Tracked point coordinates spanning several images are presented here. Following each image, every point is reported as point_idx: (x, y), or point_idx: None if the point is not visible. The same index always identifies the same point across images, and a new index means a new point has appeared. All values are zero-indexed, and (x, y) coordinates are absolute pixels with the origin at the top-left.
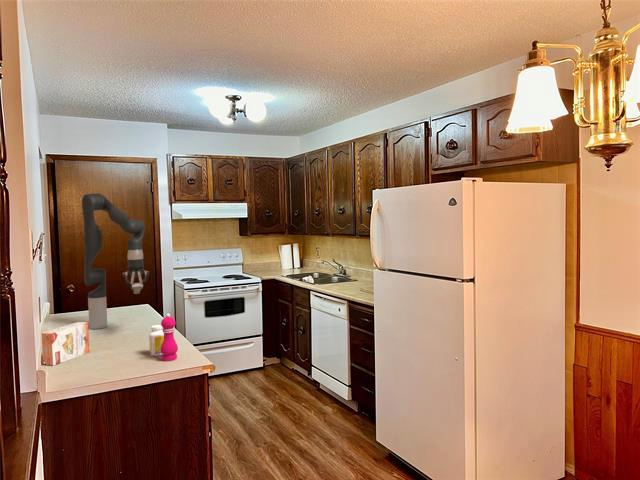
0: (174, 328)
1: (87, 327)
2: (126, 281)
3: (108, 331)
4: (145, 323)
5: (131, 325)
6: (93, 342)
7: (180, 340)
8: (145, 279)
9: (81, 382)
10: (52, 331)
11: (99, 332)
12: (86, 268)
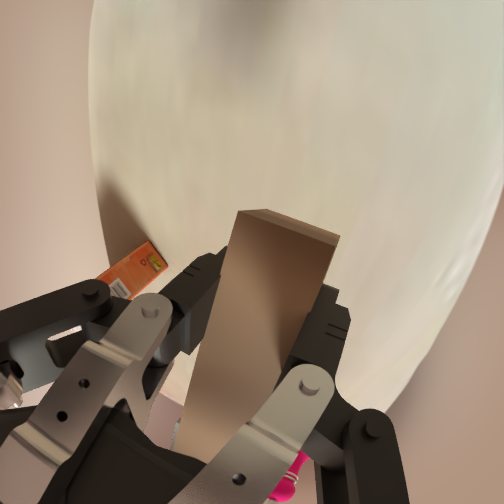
0: (294, 483)
1: None
2: (78, 344)
3: (247, 6)
4: None
5: None
6: (178, 162)
7: (416, 358)
8: (335, 491)
9: (172, 393)
10: (73, 328)
11: (212, 7)
12: None
